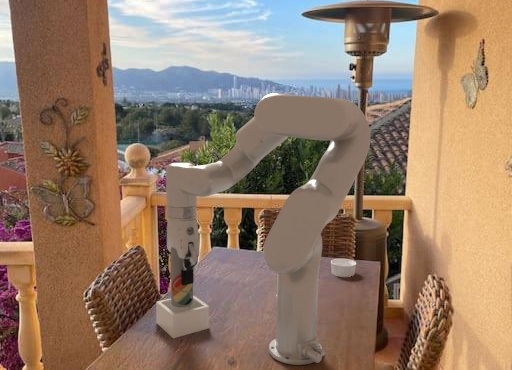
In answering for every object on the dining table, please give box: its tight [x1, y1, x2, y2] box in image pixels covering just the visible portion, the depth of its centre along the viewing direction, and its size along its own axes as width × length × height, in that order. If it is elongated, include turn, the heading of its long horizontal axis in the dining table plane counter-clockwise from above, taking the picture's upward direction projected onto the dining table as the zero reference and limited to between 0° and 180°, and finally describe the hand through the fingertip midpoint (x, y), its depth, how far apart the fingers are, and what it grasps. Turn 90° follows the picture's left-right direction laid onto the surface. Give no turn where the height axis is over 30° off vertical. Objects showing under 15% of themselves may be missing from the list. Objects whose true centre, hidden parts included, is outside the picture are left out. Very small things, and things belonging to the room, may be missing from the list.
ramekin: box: [330, 258, 357, 278], centre depth 167 cm, size 9×9×4 cm
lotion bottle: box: [170, 248, 194, 307], centre depth 123 cm, size 6×6×20 cm
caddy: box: [155, 294, 210, 339], centre depth 125 cm, size 10×10×6 cm
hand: (181, 279), depth 124 cm, fingers closed on lotion bottle, 5 cm apart
